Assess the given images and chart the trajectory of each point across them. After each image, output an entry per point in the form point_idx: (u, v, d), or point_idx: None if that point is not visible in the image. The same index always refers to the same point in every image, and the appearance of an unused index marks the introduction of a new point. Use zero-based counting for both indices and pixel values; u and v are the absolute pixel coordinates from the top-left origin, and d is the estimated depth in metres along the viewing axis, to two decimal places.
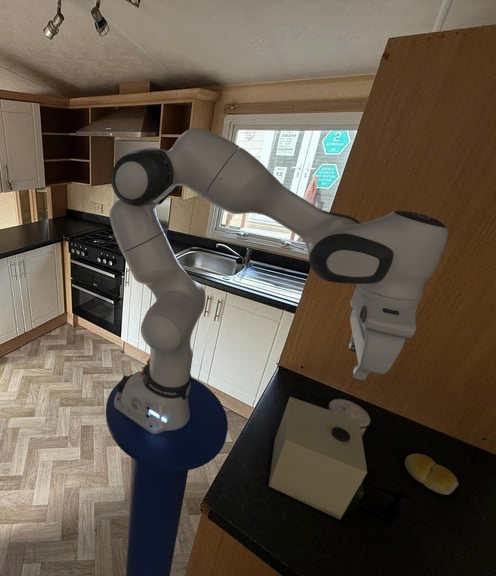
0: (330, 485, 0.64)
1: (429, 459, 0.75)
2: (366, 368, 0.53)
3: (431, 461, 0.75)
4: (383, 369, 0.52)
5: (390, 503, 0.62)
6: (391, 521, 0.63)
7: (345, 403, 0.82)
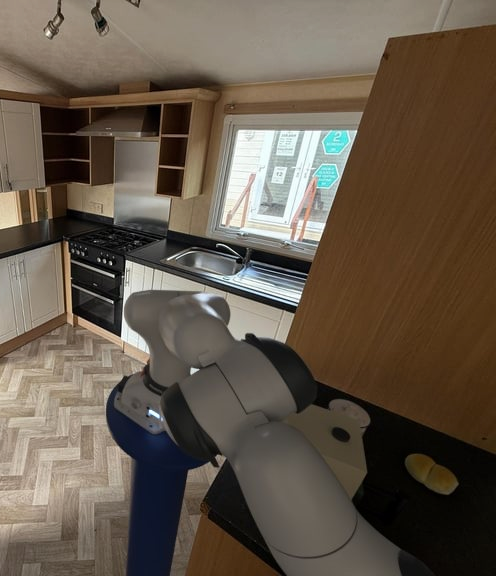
0: None
1: (429, 459, 0.75)
2: None
3: (431, 461, 0.75)
4: None
5: (390, 503, 0.62)
6: (391, 521, 0.63)
7: (345, 403, 0.82)
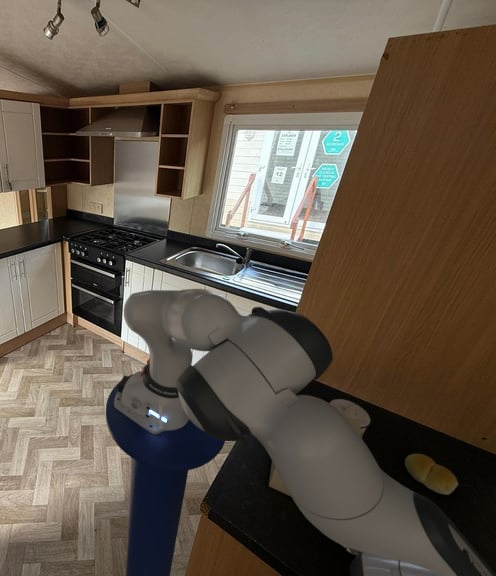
0: None
1: (429, 459, 0.75)
2: None
3: (431, 461, 0.75)
4: None
5: None
6: None
7: (345, 403, 0.82)
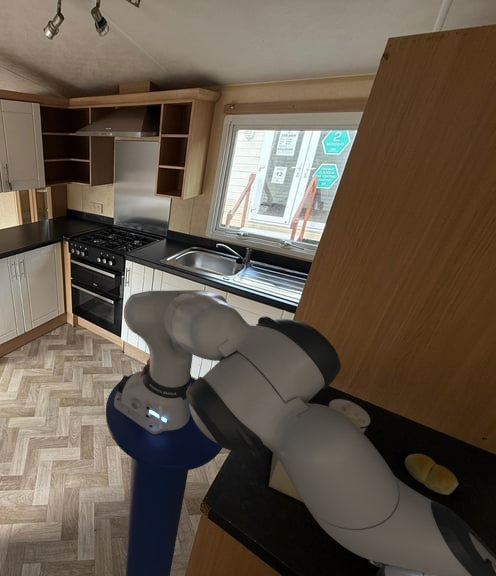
0: None
1: (429, 459, 0.75)
2: None
3: (431, 461, 0.75)
4: None
5: None
6: None
7: (345, 403, 0.82)
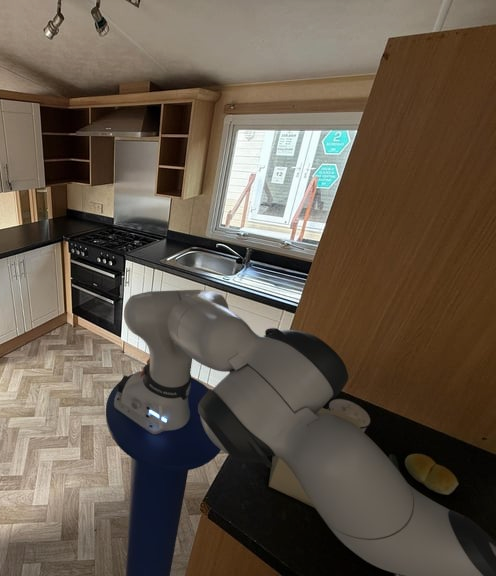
0: None
1: (429, 459, 0.75)
2: None
3: (431, 461, 0.75)
4: None
5: None
6: None
7: (345, 403, 0.82)
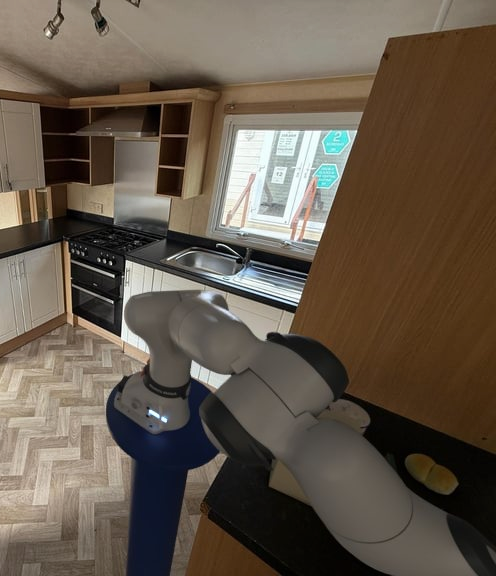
0: None
1: (429, 459, 0.75)
2: None
3: (431, 461, 0.75)
4: None
5: None
6: None
7: (345, 403, 0.82)
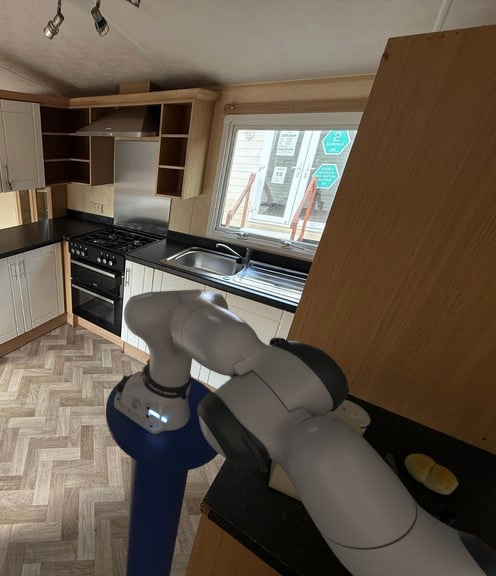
0: None
1: (429, 459, 0.75)
2: None
3: (431, 461, 0.75)
4: None
5: None
6: None
7: (345, 403, 0.82)
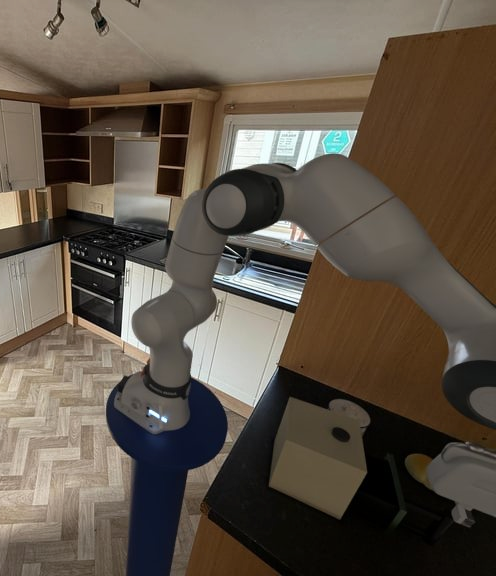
0: (330, 485, 0.64)
1: (429, 459, 0.75)
2: None
3: (431, 461, 0.75)
4: None
5: (434, 522, 0.59)
6: (434, 540, 0.60)
7: (345, 403, 0.82)
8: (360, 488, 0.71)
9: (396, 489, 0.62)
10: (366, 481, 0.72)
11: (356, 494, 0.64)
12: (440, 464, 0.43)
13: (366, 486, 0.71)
